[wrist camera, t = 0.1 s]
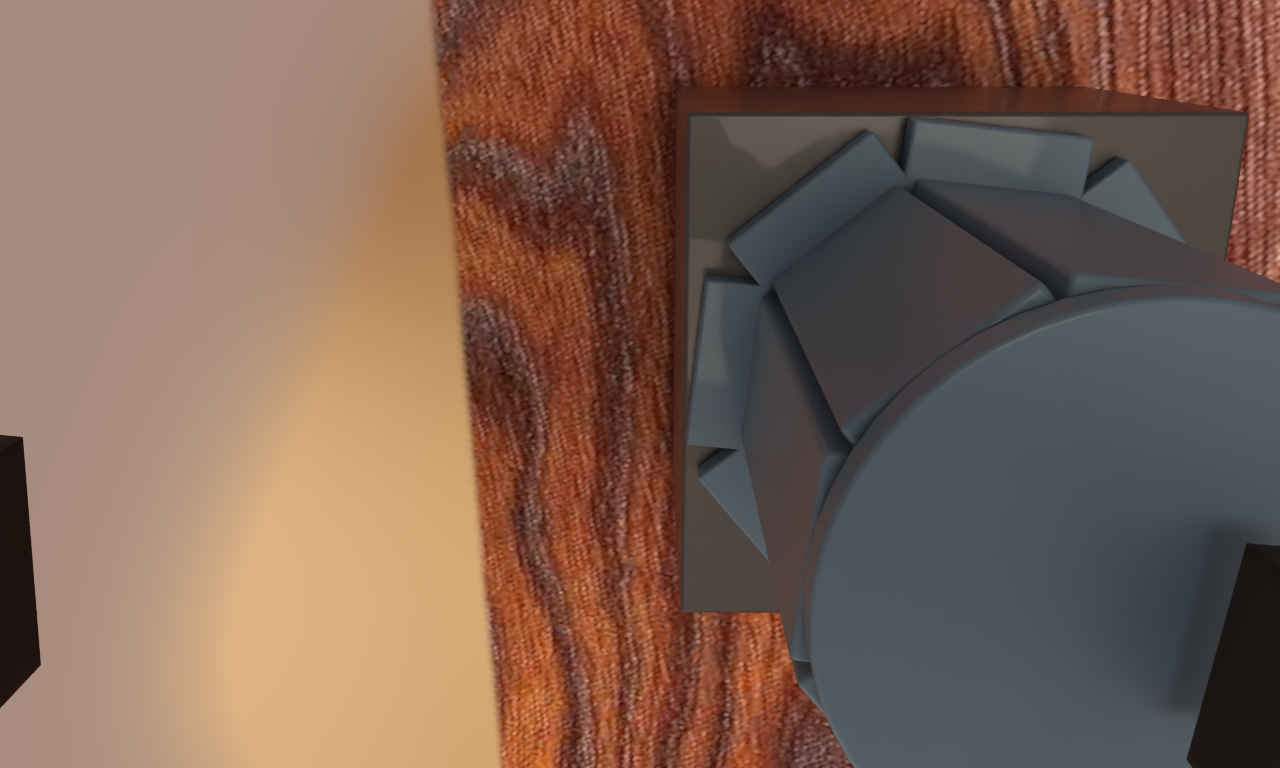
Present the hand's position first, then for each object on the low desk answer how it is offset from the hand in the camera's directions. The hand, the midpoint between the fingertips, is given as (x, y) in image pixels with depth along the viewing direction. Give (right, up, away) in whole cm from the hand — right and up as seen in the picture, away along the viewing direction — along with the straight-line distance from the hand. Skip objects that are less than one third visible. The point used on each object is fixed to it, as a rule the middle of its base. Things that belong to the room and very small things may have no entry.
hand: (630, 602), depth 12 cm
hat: (+6, +2, +9) cm, 11 cm away
